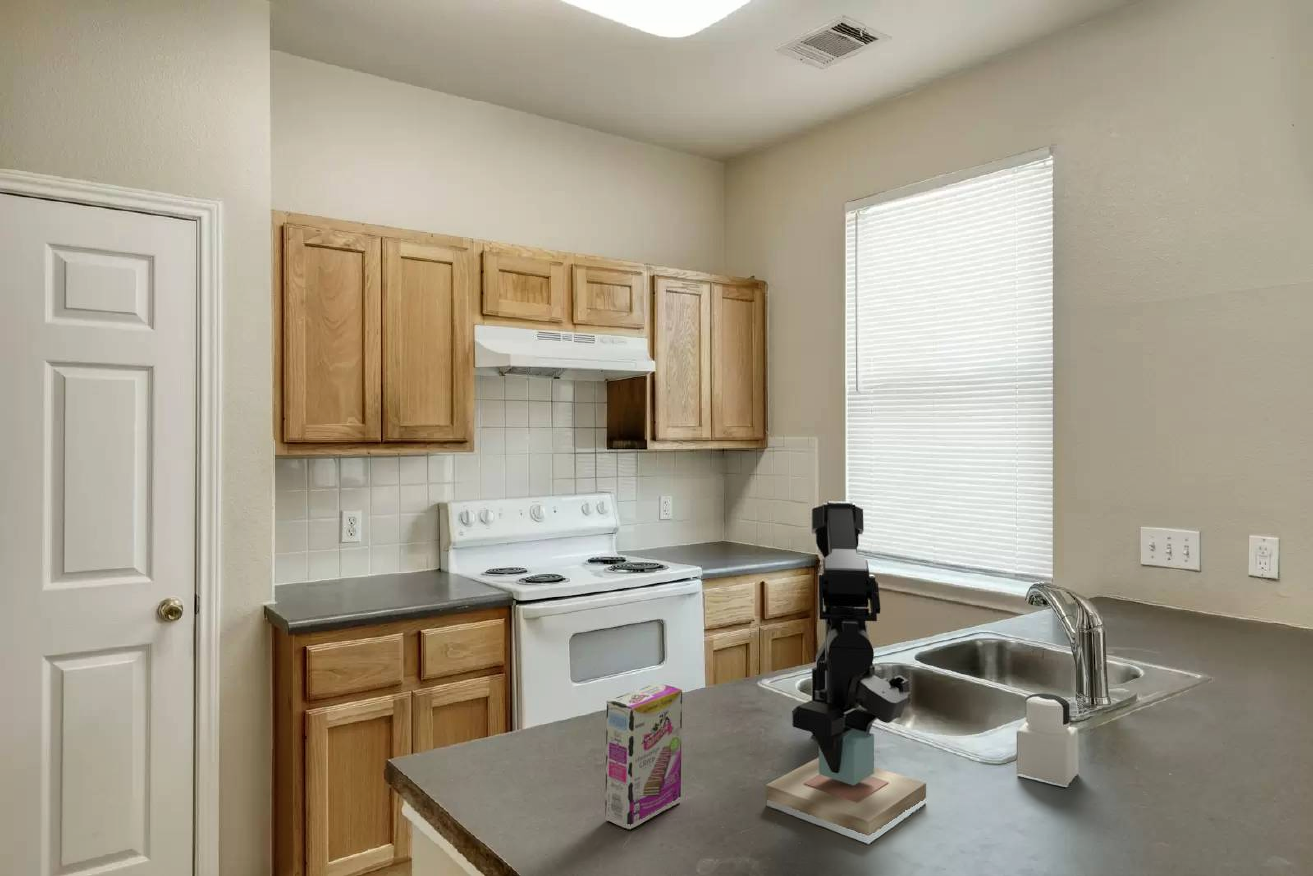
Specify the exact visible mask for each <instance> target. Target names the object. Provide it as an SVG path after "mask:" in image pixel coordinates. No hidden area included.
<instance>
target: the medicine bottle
mask: <svg viewBox="0 0 1313 876" xmlns="http://www.w3.org/2000/svg"><path fill="white" fill-rule="evenodd" d="M1070 706H1071V705H1070V703H1069V702H1068V700H1066V699H1065V698H1063V697H1061V696H1059V695H1056V694H1051V693H1043V692H1042V693H1041V692H1040V693H1033V694H1030V695H1028V696H1027V697H1026V698H1025V722H1024V724H1023V725H1022V726H1020V727H1019V728H1018V729H1017V730H1016V775H1017V774H1023V775H1026V776H1030V777H1033V778H1039V779H1042V780H1045V781H1048V782H1052V783H1057V784H1062V785H1066V786H1067V785H1068V784H1069V783H1070V782H1071V781H1072V779H1073V778H1074V777H1075V776H1076V777H1077V775H1078V774H1079V729H1078V728H1077V727H1074V726H1070ZM1077 773H1078V774H1077ZM1076 774H1077V775H1076ZM1076 777H1075V778H1076ZM1075 778H1074V779H1075ZM1072 782H1073V781H1072ZM1072 782H1071V783H1072Z"/></svg>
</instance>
